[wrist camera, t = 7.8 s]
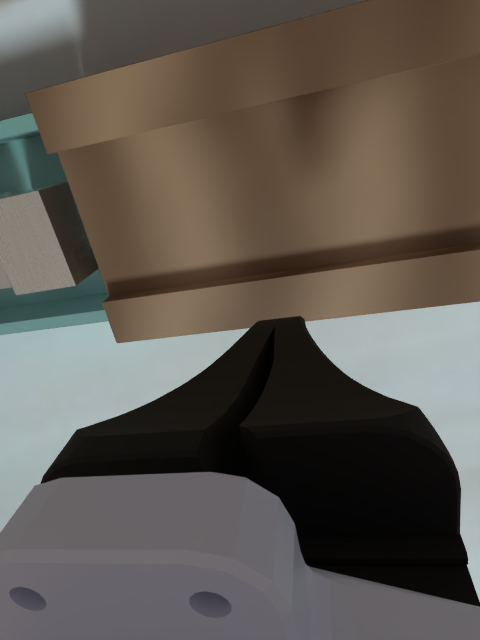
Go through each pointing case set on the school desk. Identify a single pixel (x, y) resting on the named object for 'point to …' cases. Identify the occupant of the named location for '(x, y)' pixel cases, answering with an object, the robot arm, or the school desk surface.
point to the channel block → (281, 171)
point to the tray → (24, 174)
